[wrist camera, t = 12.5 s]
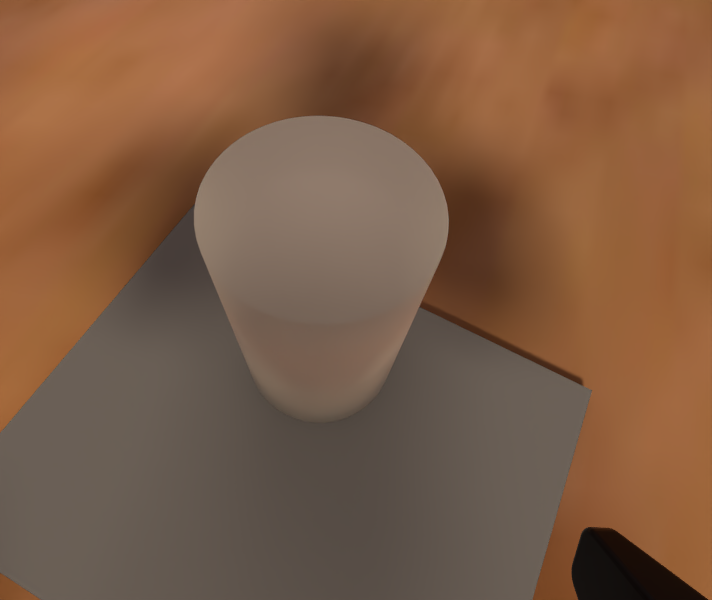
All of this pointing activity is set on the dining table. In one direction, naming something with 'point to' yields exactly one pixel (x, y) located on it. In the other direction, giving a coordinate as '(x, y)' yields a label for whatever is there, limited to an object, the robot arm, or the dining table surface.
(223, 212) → the canister
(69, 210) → the dining table surface
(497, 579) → the mat
